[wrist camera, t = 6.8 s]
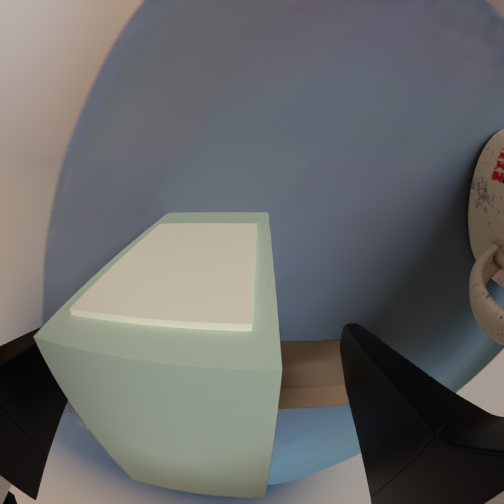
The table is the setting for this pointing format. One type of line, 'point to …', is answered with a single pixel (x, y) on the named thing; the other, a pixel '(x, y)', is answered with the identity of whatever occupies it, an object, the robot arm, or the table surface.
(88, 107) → the table surface
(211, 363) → the sage tin
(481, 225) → the teacup with lid
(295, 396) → the wooden block
